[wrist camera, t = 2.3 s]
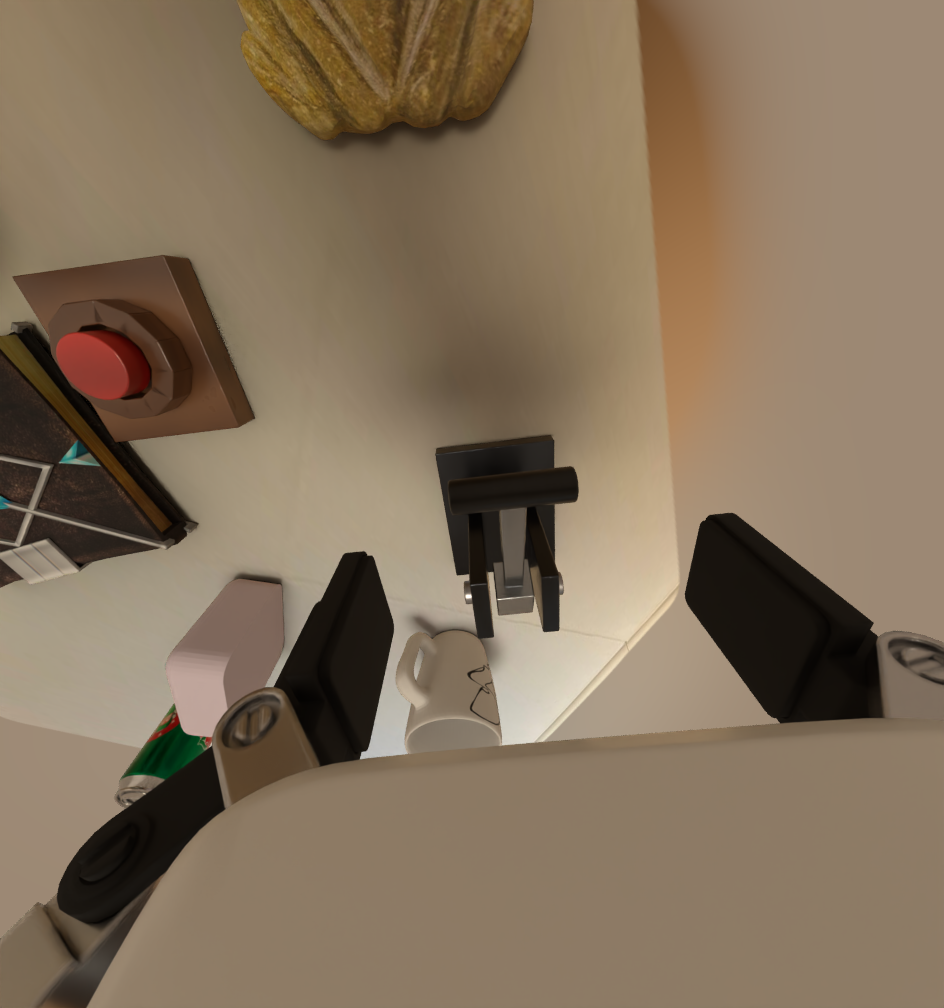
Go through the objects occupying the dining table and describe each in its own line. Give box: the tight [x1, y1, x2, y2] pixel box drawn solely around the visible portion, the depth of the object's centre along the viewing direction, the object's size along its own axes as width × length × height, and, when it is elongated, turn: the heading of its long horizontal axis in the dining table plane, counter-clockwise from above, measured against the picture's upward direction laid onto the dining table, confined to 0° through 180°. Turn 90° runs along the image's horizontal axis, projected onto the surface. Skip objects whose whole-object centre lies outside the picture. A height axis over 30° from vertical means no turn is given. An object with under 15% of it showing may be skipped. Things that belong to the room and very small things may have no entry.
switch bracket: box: [435, 435, 564, 639], centre depth 26 cm, size 12×9×12 cm
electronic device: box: [165, 579, 284, 737], centre depth 33 cm, size 10×5×10 cm, turn 167°
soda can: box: [114, 703, 212, 808], centre depth 36 cm, size 5×5×12 cm
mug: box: [396, 630, 502, 754], centre depth 35 cm, size 11×8×10 cm
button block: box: [13, 255, 254, 442], centre depth 23 cm, size 10×9×4 cm
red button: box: [56, 330, 151, 400], centre depth 21 cm, size 4×4×2 cm
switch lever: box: [448, 466, 579, 615], centre depth 19 cm, size 12×5×2 cm, turn 7°
